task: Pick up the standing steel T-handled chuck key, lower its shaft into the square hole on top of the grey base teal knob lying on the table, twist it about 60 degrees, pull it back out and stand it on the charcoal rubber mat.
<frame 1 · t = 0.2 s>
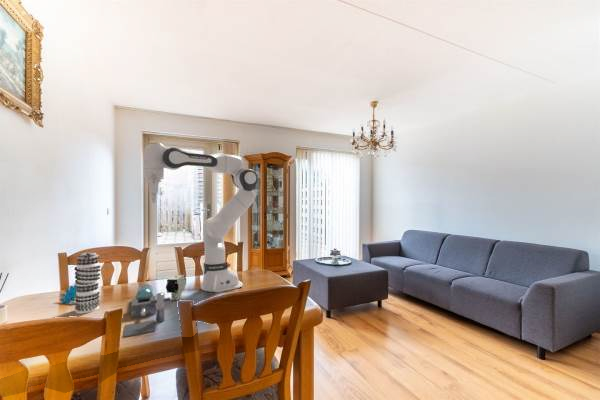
hand: (153, 202, 138), 48 cm above the table, tool pointing down, fingers open, 8 cm apart
mat: (139, 328, 104), on the table
chuck key: (160, 320, 111), on the table
grey base teal knob: (143, 311, 119), on the table
gear: (73, 301, 130), on the table
pneumatic valve: (176, 299, 135), on the table
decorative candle: (87, 310, 121), on the table
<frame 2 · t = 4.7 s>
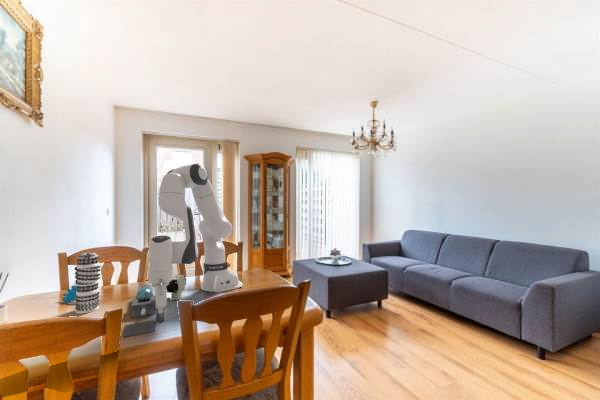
hand: (160, 310, 111), 4 cm above the table, tool pointing down, fingers closed on chuck key, 3 cm apart
chuck key: (160, 320, 111), on the table, touching gripper
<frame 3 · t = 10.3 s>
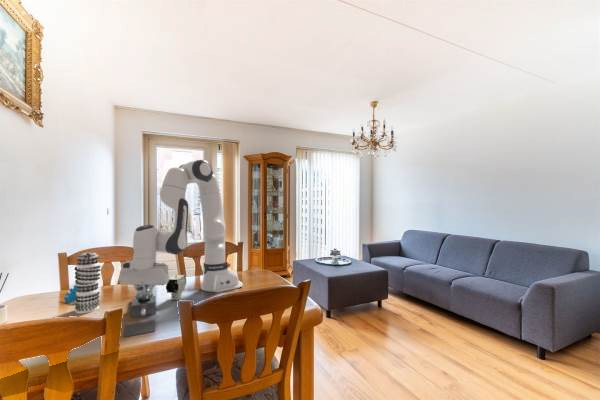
hand: (144, 294, 119), 8 cm above the table, tool pointing down, fingers closed on chuck key, 3 cm apart
chuck key: (144, 305, 119), point 3 cm above the table, touching gripper
when the fingers open (6 cm above the table, at t = 15.9 s): chuck key stays where it is, resting on mat.
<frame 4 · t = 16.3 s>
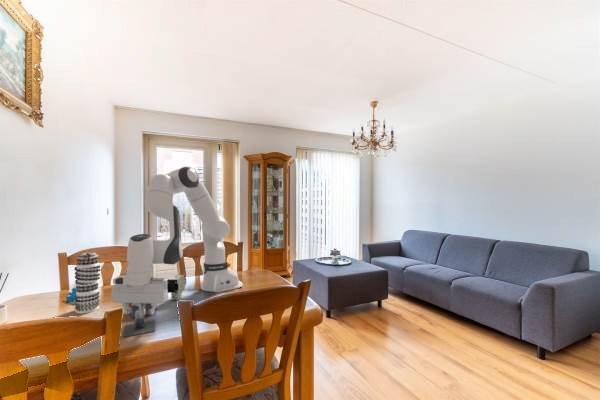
hand: (139, 314, 104), 6 cm above the table, tool pointing down, fingers open, 8 cm apart
chuck key: (139, 327, 104), resting on mat
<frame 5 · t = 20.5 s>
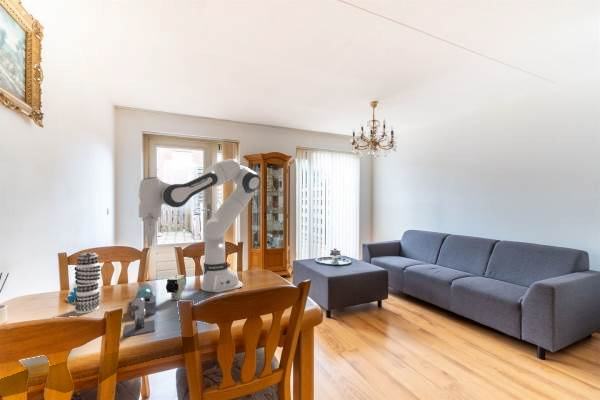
hand: (149, 244, 122), 29 cm above the table, tool pointing down, fingers open, 8 cm apart
at the end: chuck key inside the target area on the mat (0.0 cm from its centre), point 0.4 cm above the mat's base; chuck key tilted 0°; the gripper is holding nothing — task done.
